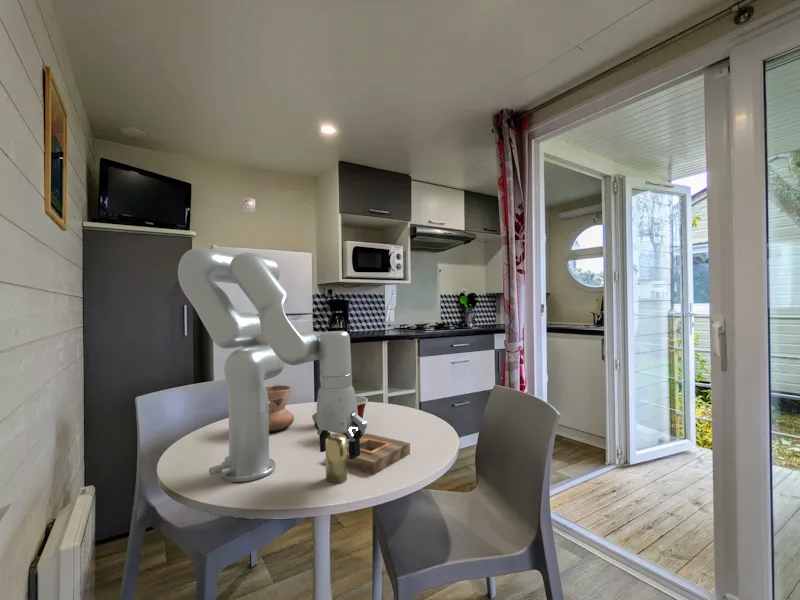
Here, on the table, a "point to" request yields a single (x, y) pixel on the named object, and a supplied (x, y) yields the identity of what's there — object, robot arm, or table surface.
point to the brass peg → (336, 459)
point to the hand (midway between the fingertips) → (339, 453)
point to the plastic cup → (359, 408)
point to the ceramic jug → (279, 407)
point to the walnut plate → (377, 453)
